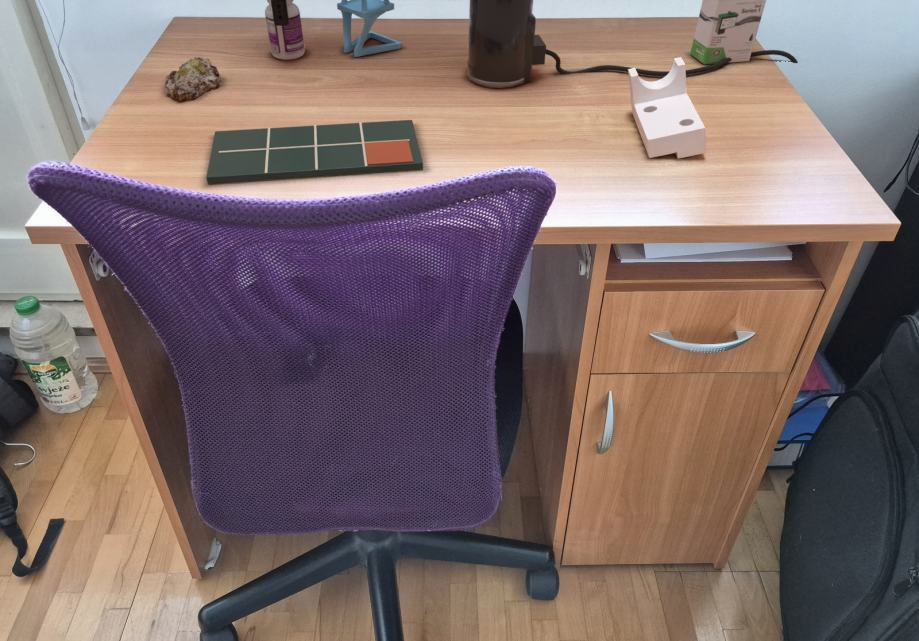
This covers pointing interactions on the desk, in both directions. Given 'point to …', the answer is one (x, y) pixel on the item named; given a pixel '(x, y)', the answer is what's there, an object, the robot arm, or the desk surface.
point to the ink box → (726, 30)
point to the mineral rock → (192, 79)
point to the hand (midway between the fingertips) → (282, 15)
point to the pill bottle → (285, 33)
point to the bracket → (667, 114)
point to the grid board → (313, 151)
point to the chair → (365, 25)
